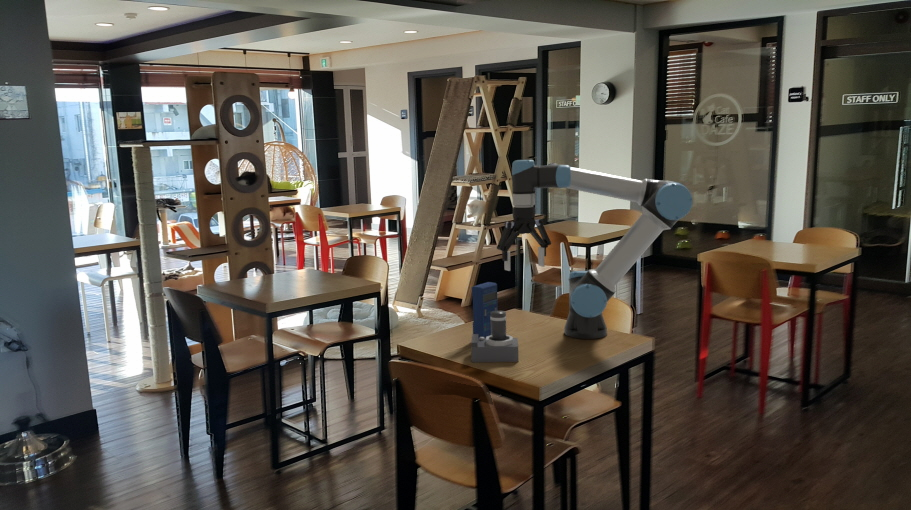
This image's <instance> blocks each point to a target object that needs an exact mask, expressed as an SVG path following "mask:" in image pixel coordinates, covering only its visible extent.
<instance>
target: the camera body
mask: <svg viewBox="0 0 911 510" xmlns="http://www.w3.org/2000/svg"><path fill="white" fill-rule="evenodd" d="M518 339H519V338H518V337H513V336H512V335H509V334H506V340H505V341H494V340H491V335H490V336H487V337H486V338H484V337H480V338H478V334H473V333H472V335H471V342H470V346H471V348H470V351H471V353H470V354H471V363H515V362H517V363H518V362H519V340H518Z"/></svg>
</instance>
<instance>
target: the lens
mask: <svg viewBox="0 0 911 510" xmlns="http://www.w3.org/2000/svg"><path fill="white" fill-rule="evenodd" d="M490 314H491V316H490V319H491V340H494V341H505V340H506V335H507V312H506V311H505V310H498V311H492V312H491V313H490Z"/></svg>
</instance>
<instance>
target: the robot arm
mask: <svg viewBox="0 0 911 510" xmlns="http://www.w3.org/2000/svg"><path fill="white" fill-rule="evenodd" d="M511 165H512V167H511V186H512V187H511V188H512V205H513V207H512V217H513V218H512V219H513V220H512V221H505V222H504V228H503V231H502V233H501V235H500V238H499V240H498V243H497V246H496V249H497V250H499V251H501V255H502V256H501V258H502V261H503V262H504V264H503V265H504V271H508V272H511V251H510V248H511V247H512V246H513V244H514V242H515V241H516V239H517V238H518V237H519V236H520V235H524V234H530V235H531V236H532V238H533V239H534V240H535V241H536V242H537V244H538V245H539V246H538V247H537V252H538V254H537V258H538V259H537V262H538V264H537V266H539V267H541V268H544V267H545V257H546V256H547V248H548V247H549V246H550V245H551V246H552V241H551V239H550V237H549V234H548V233H547V230H546V229H545V225H544V221H543V219H541V218H537V219H535V217H536V207H535V205H536V189H569V190H573V191H578V192H584V193H590V194H595V195H600V196H605V197H609V198H614V199H619V200H623V201H624V200H625V201H628V202H634V203H637V205H638V206H640V207H641V208H642V209H641V211H642V214H641V215H640V216H639V218H638V219H636V220H635V222H634V223H632V226H631V227H630V228H629V229H628V230H627V231H626V233H624V235H623V236H622V238H620V239H619V241H618V242H617V243H616V245H615V246H614V247H613V248H612V249H611V250H610V251H609V253H607V255H606V256H605V257H604V258H603V260H602V261H601V262H600V263H599V264H598V266H597V267H596V268H592V269H588V270H575V271H574V270H573V271H570V273H569V276H568V277H569V278H568V286H569V287H568V292H569V293H568V297H569V298H568V299H569V300H568V301H569V302H568V305H569V306H568V309H569V312H568V315H567V318H566V321H565V324H564V331H563V332H564V334H565V336H567V337H569V338H573V339H579V340H580V339H582V340H594V339H600V338H603V337H606V336H608V327H607V324H606V321H605V318H604V316H603V312H604V311H605V310H606V308H607V305H608V302H609V301H610V299H612V297H613V296H614V295H615V294H616V292H617V288H616V285H617V284H618V283H619V282H620V281H621V280H622V278H624V276H625V275H626V274H627V273H628V271H630V269H631V268H632V267H633V266H634V264H636V262H637V261H638V260H639V259H640V258H641V256H643V254H644V253H645V252H646V251H647V249H648V248H649V247H650V246H651V245H652V244H653V243H654V241H655V240H656V239H657V238H658V237H659V236H660V234H662V232H663V231H666V230H671V229H672V228H673V226H674V225H676V223H677V222H678V221H679V220H681V219H683V218H685V217H686V216H687V215H688V214H689V213H690V212H691V209H692V207H693V196H692V193H691V191H690V190H689V188H687V187H686V185H684V184H682V183H681V182H677V181H674V180H663V179H662V180H658V179H650V178H644V179H642V180H639V179H634V178H629V177H623V176H619V175H615V174H614V175H613V174H609V173H603V172H600V171H593V170H588V169H584V168H578V167H572V166H570V165H569V164H558V163H554V162H552V163H548V164H547V165H536V164H535V161H534V160H533V159H517V160H514V161H513V162H512V164H511ZM535 226H536V227H537V230H538V231H537V230H536V228H535ZM538 232H539V233H538ZM539 234H540V235H539Z"/></svg>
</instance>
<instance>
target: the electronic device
mask: <svg viewBox="0 0 911 510" xmlns="http://www.w3.org/2000/svg"><path fill="white" fill-rule="evenodd" d="M471 295H472V316H473V318H472V321H473V322H472V334H478V338H480V337H484V338H486V337H487V336H490V335H491V319H490V316H491V314H490V313H491V312H492V311H499V310H498V284H497V283H496V282H491V281H487V282H484V283H480V284H477V285H474V286H472V287H471Z"/></svg>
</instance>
